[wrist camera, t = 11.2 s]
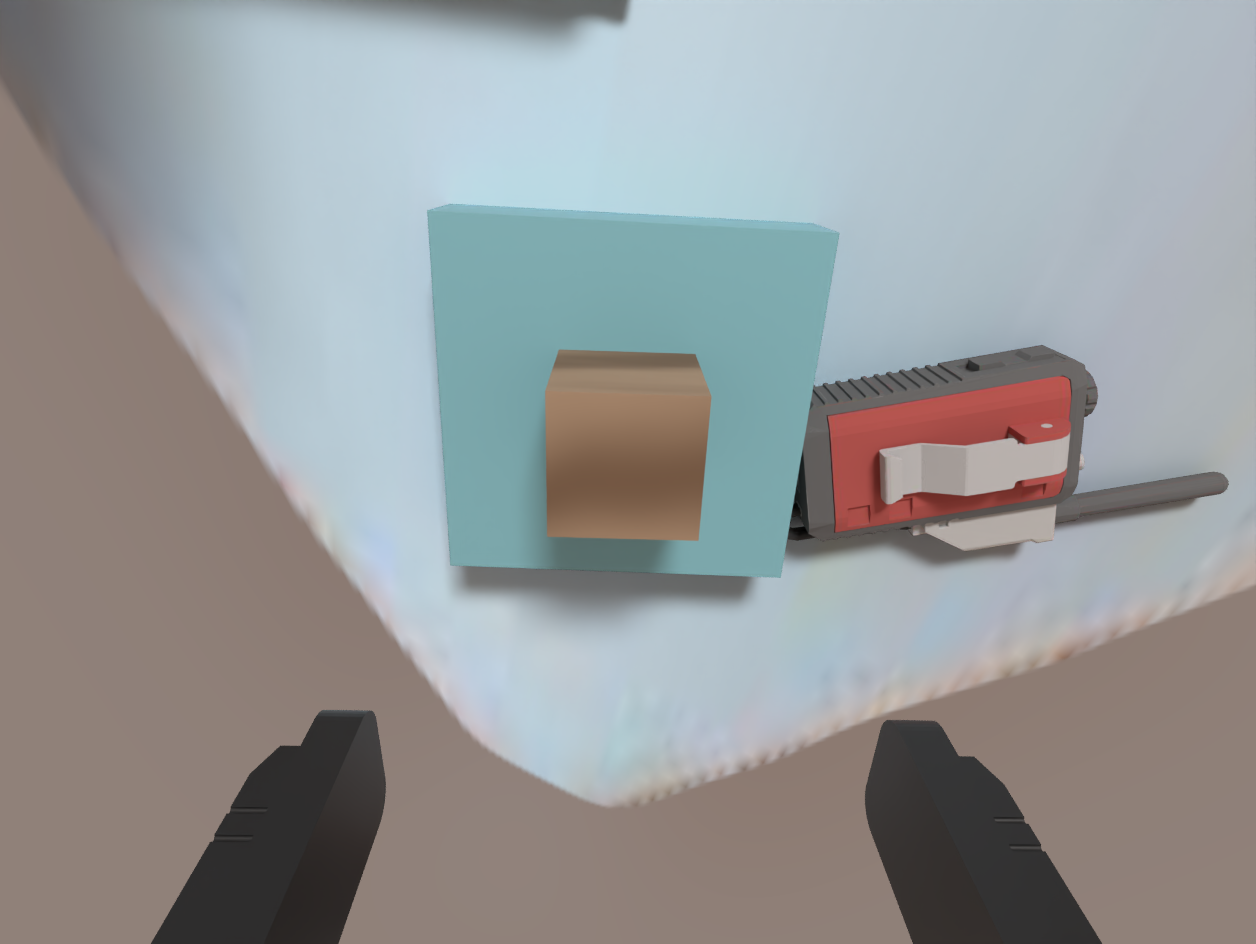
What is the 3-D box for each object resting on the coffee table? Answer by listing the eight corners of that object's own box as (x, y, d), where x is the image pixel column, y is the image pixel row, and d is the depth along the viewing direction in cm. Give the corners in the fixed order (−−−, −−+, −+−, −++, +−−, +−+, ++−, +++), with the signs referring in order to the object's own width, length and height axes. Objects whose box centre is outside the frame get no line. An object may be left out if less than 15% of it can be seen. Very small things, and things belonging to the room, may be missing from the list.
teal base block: (453, 202, 27) (427, 210, 23) (810, 222, 27) (839, 232, 24) (469, 519, 33) (450, 565, 29) (762, 531, 33) (780, 577, 30)
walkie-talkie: (773, 558, 34) (1198, 489, 32) (795, 612, 30) (1280, 536, 28) (755, 387, 30) (1232, 303, 29) (777, 423, 26) (1332, 327, 25)
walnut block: (558, 349, 25) (545, 391, 21) (695, 353, 25) (711, 396, 21) (559, 473, 27) (546, 536, 23) (685, 477, 27) (698, 540, 23)
